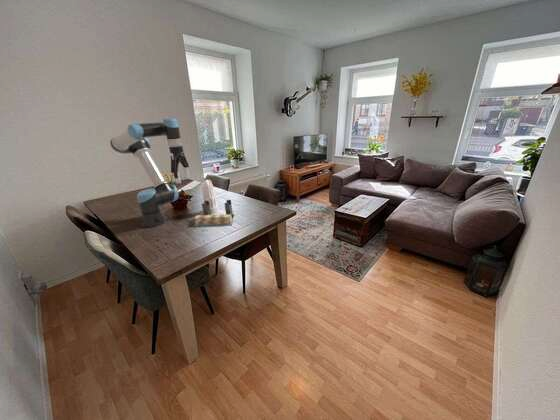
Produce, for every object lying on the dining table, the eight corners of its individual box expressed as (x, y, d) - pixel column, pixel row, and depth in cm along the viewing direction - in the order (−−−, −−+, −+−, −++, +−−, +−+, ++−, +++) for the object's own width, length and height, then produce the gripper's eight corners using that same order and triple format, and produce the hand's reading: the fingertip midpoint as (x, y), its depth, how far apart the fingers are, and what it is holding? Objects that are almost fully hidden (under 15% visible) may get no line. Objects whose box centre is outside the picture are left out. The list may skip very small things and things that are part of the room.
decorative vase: (214, 214, 166) (209, 182, 156) (201, 214, 168) (195, 182, 158) (221, 209, 176) (216, 178, 166) (208, 208, 178) (203, 178, 168)
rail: (195, 224, 151) (194, 217, 149) (197, 221, 154) (196, 215, 152) (230, 223, 150) (229, 216, 148) (232, 220, 154) (231, 214, 152)
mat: (193, 226, 150) (193, 225, 149) (197, 221, 156) (197, 221, 156) (231, 225, 149) (231, 224, 149) (233, 220, 155) (233, 219, 155)
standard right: (225, 219, 157) (222, 203, 152) (227, 215, 164) (225, 199, 159) (232, 219, 157) (230, 203, 152) (234, 215, 164) (232, 199, 159)
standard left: (203, 220, 158) (199, 204, 153) (206, 216, 164) (203, 200, 159) (210, 220, 158) (207, 203, 153) (212, 215, 164) (210, 200, 159)
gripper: (172, 148, 123) (180, 185, 131) (189, 143, 146) (195, 175, 154) (158, 149, 123) (168, 185, 131) (178, 143, 146) (185, 175, 154)
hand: (183, 180), depth 143 cm, fingers open, 13 cm apart
